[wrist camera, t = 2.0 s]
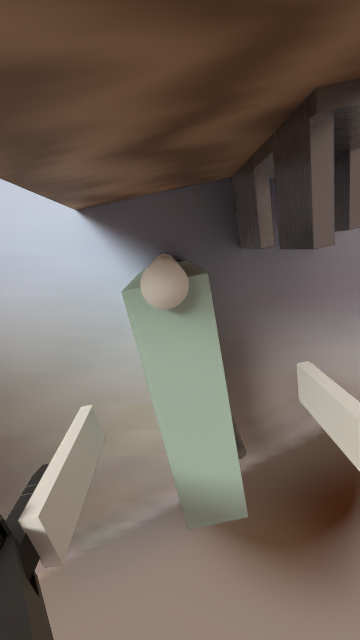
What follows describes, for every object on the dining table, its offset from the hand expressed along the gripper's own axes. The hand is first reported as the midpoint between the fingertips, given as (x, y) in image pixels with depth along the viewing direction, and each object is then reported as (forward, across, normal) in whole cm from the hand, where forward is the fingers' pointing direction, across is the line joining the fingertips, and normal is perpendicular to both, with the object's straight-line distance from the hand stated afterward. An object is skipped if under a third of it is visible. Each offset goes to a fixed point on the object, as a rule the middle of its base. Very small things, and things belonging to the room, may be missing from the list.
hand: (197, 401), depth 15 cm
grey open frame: (+10, +10, +11) cm, 18 cm away
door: (+10, 0, 0) cm, 10 cm away
